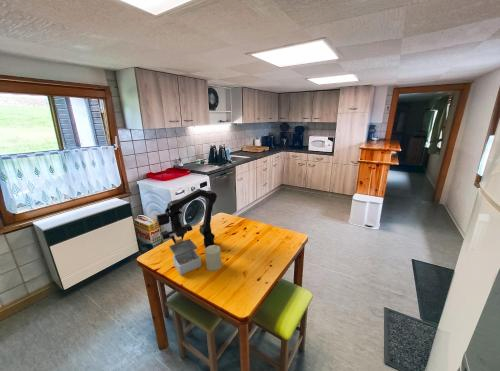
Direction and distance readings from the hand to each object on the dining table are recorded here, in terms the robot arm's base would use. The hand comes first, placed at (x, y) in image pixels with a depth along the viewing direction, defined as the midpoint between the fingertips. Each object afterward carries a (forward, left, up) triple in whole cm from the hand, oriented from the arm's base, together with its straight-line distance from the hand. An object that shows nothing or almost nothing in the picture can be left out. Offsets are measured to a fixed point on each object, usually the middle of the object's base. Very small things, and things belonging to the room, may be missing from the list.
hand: (178, 242), depth 140 cm
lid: (-2, +6, 0) cm, 6 cm away
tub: (-4, +12, -10) cm, 16 cm away
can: (-20, +18, -10) cm, 28 cm away
